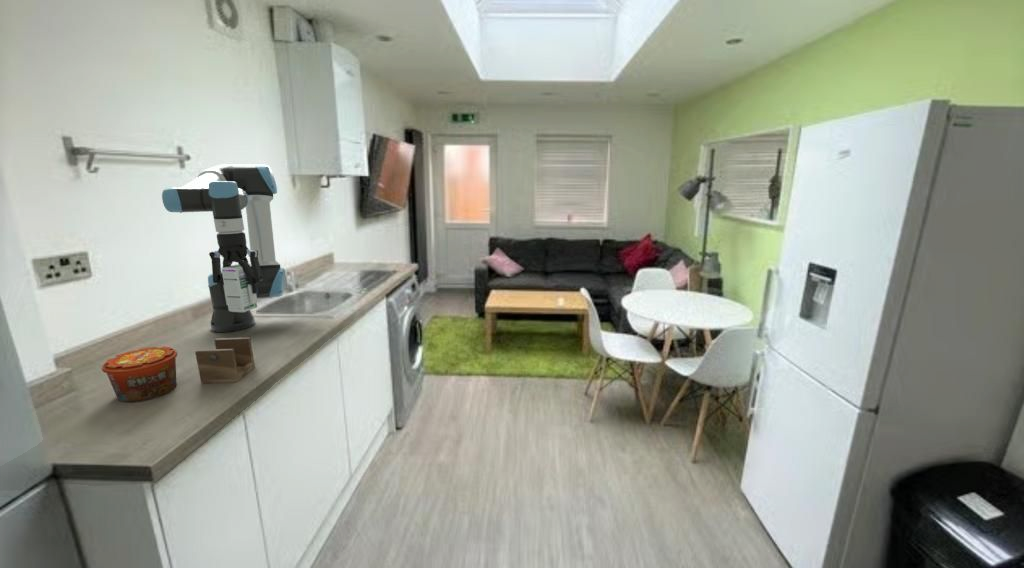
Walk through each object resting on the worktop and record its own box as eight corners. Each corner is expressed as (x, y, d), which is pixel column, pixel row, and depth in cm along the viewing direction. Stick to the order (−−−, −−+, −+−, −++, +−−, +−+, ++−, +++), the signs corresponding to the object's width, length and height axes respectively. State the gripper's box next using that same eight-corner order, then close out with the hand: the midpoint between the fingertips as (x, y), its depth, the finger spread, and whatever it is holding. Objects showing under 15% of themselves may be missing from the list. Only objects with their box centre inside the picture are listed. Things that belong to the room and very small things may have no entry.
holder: (223, 367, 137) (218, 337, 134) (256, 366, 137) (251, 336, 135) (199, 384, 125) (193, 352, 123) (235, 383, 126) (229, 351, 123)
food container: (180, 395, 119) (173, 359, 116) (103, 412, 111) (93, 373, 108) (186, 374, 132) (179, 341, 129) (117, 387, 124) (108, 352, 121)
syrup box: (243, 312, 136) (237, 267, 133) (227, 311, 137) (220, 267, 134) (257, 307, 142) (251, 264, 138) (242, 306, 143) (235, 263, 139)
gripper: (189, 234, 129) (203, 307, 135) (257, 233, 130) (268, 306, 136) (205, 231, 136) (217, 301, 142) (269, 230, 138) (279, 299, 143)
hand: (242, 303), depth 139 cm, fingers closed on syrup box, 7 cm apart
